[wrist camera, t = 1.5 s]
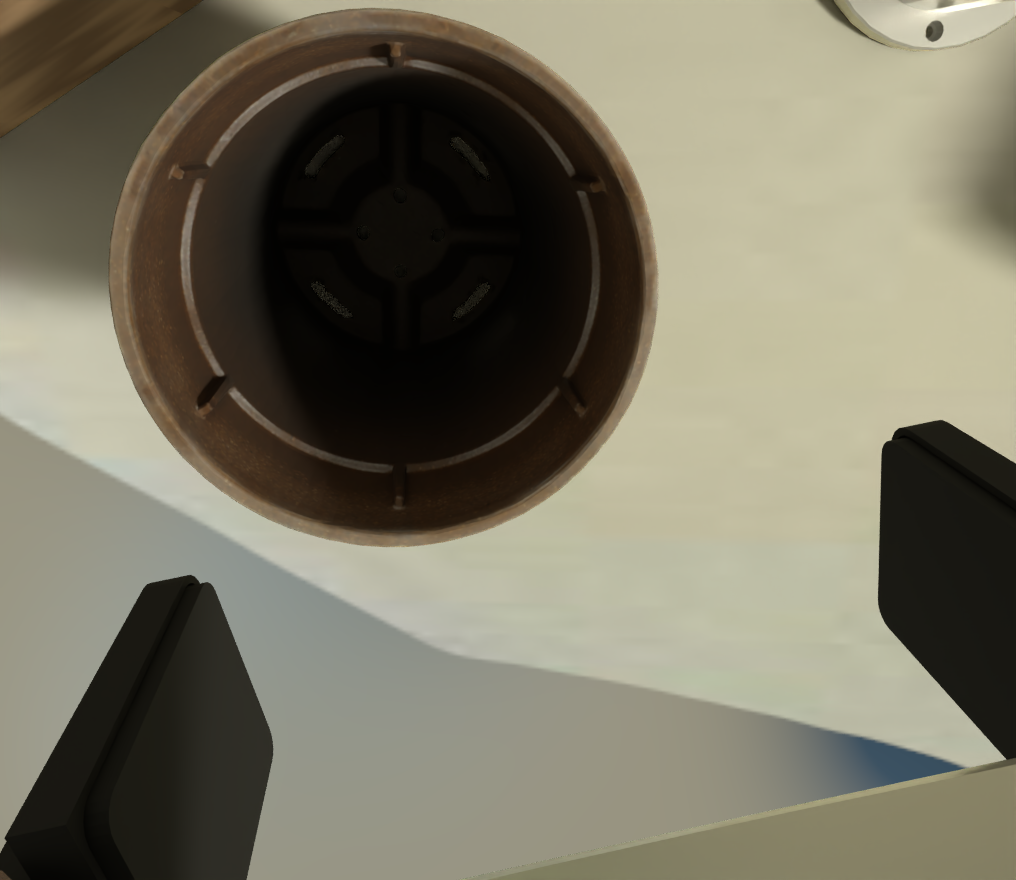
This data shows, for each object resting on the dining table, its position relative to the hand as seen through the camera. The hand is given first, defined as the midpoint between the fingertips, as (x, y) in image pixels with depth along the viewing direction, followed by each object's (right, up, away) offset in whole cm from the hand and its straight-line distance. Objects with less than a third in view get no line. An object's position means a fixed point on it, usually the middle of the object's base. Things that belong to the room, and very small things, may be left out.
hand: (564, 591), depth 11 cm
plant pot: (-6, +12, +28) cm, 31 cm away
